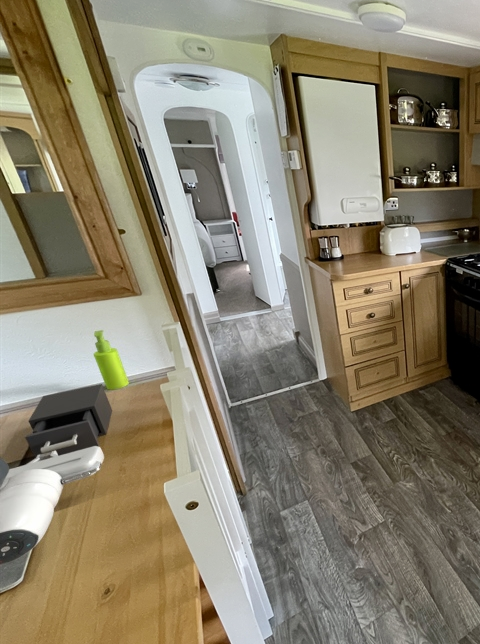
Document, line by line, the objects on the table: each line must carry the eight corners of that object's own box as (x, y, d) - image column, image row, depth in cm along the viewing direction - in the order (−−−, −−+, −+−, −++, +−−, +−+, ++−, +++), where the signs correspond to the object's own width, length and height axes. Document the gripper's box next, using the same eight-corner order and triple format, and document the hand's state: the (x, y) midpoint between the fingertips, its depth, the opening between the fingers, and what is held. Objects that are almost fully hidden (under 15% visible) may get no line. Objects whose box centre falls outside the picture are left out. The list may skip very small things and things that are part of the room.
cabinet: (106, 434, 107) (94, 405, 103) (43, 451, 100) (28, 420, 97) (112, 410, 118) (101, 383, 114) (56, 424, 111) (42, 396, 107)
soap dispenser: (128, 378, 137) (110, 327, 129) (128, 386, 132) (109, 333, 124) (107, 383, 133) (87, 331, 126) (106, 391, 128) (85, 337, 121)
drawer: (96, 454, 98) (85, 429, 95) (33, 472, 92) (19, 446, 89) (105, 421, 111) (96, 399, 108) (50, 435, 105) (39, 411, 102)
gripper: (94, 460, 82) (103, 428, 92) (-53, 502, 71) (-24, 461, 81) (104, 482, 84) (111, 449, 95) (-37, 527, 73) (-11, 483, 83)
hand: (48, 455), depth 88 cm, fingers closed
